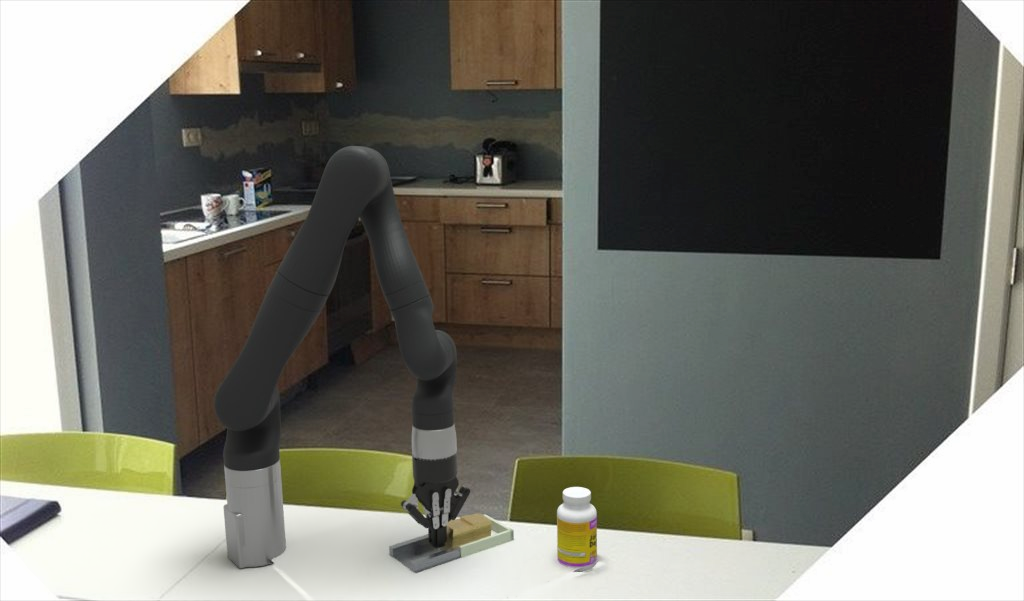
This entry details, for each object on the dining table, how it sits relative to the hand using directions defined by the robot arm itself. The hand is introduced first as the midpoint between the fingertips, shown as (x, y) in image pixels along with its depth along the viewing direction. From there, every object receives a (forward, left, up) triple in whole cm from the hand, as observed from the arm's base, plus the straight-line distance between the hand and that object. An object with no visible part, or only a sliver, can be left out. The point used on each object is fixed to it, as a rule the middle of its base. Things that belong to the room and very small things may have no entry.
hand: (437, 545), depth 162 cm
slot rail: (-2, 0, -2) cm, 3 cm away
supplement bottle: (+17, -17, -2) cm, 24 cm away
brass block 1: (+4, 0, -1) cm, 4 cm away
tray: (+8, 0, -2) cm, 8 cm away
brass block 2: (+8, 0, -1) cm, 8 cm away
